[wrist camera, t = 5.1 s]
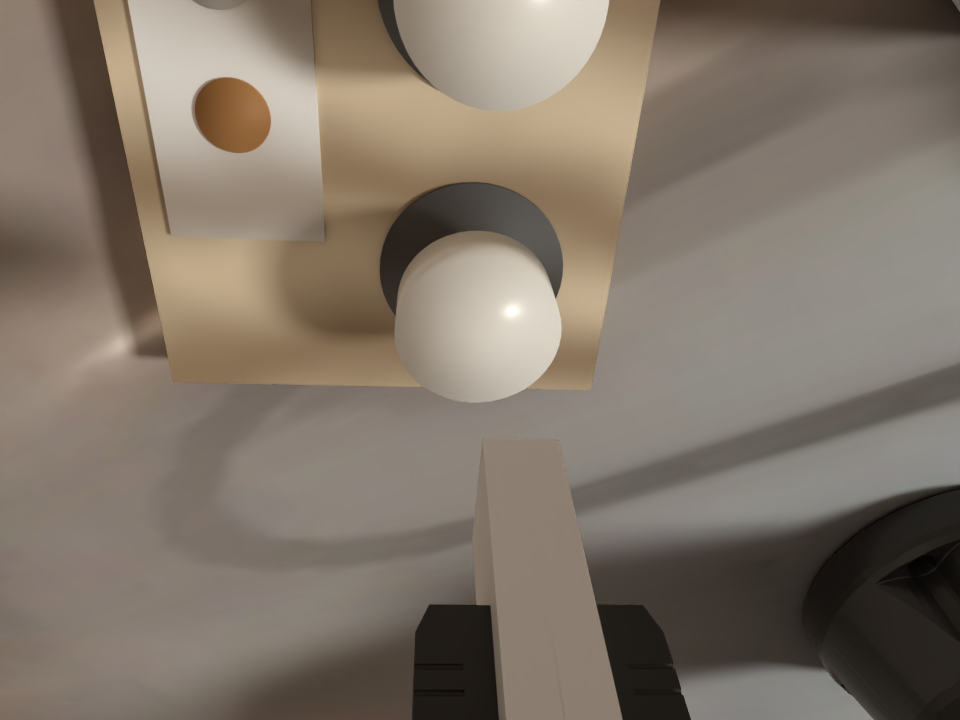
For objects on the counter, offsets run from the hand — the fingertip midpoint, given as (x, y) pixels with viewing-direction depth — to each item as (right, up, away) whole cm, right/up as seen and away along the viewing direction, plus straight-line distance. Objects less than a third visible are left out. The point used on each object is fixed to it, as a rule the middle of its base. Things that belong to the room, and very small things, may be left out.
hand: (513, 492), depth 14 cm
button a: (-1, +5, +8) cm, 10 cm away
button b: (0, +12, +4) cm, 13 cm away
